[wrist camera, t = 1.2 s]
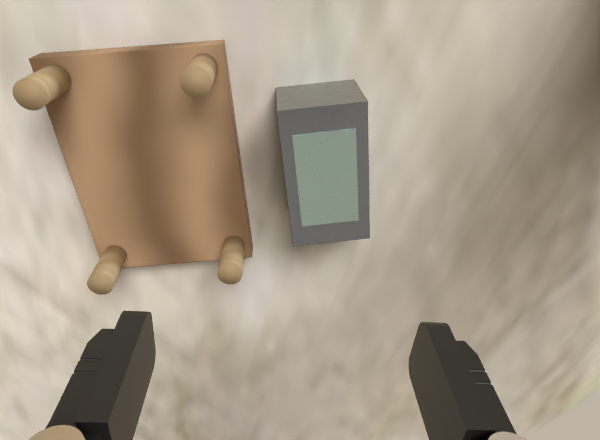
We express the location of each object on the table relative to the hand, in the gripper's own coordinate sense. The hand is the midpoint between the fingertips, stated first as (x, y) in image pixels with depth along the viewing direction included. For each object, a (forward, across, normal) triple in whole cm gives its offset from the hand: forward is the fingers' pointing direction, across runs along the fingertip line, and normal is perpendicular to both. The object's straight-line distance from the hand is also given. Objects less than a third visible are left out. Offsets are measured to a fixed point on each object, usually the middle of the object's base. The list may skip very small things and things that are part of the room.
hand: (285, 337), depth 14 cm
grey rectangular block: (+19, -3, +2) cm, 20 cm away
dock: (+19, +8, +3) cm, 21 cm away
